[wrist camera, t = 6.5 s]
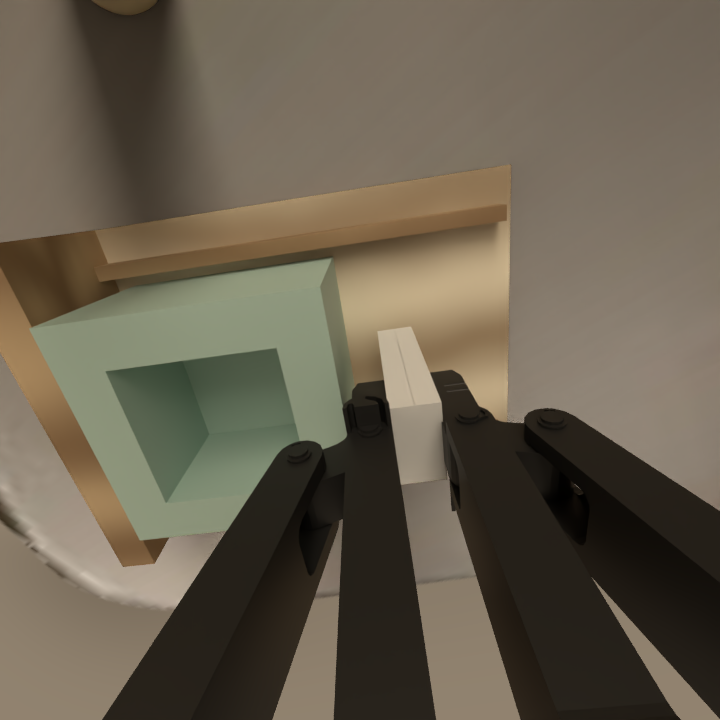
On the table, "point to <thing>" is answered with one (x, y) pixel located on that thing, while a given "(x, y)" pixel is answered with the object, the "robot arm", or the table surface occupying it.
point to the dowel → (125, 6)
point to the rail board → (278, 246)
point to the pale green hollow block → (203, 386)
